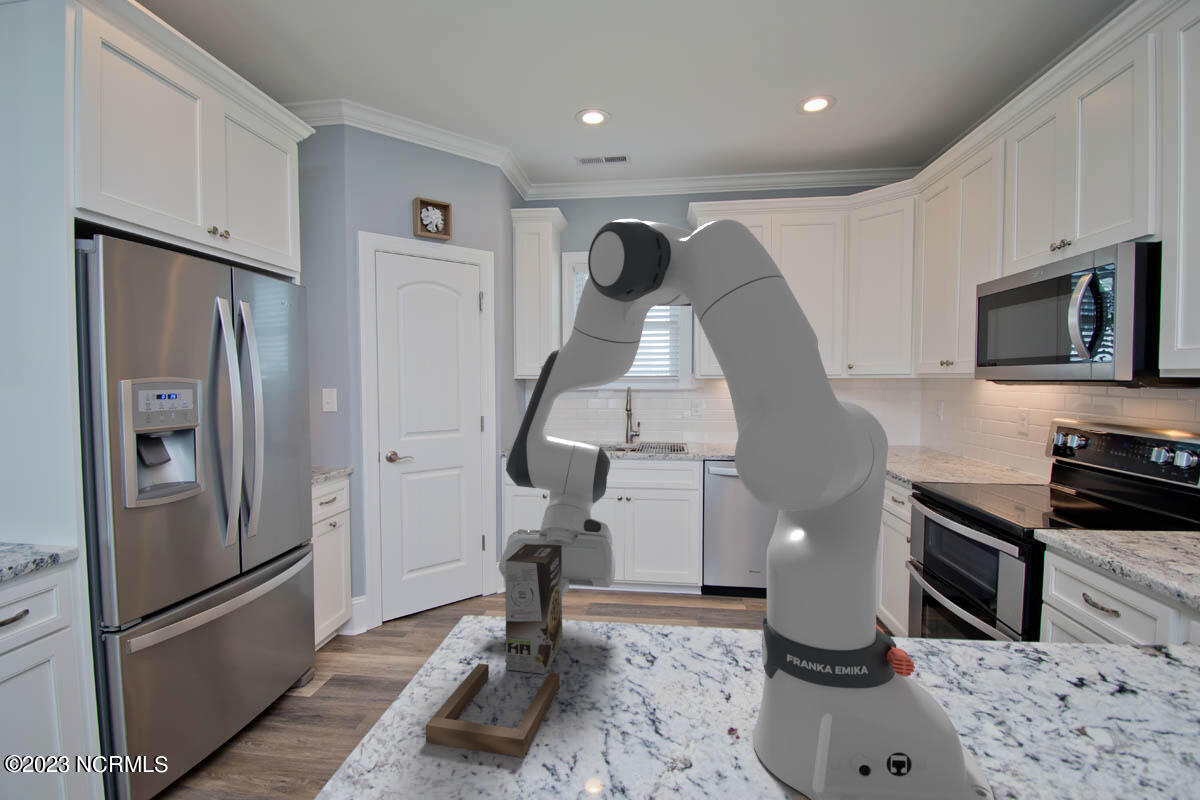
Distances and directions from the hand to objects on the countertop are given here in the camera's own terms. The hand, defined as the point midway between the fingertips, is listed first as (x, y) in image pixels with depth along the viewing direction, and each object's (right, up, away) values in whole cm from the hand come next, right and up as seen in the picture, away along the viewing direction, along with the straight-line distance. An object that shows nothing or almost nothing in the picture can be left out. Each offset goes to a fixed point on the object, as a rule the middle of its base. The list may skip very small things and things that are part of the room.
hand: (548, 607), depth 82 cm
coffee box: (-1, -6, -5) cm, 8 cm away
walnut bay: (-4, -5, -18) cm, 19 cm away
